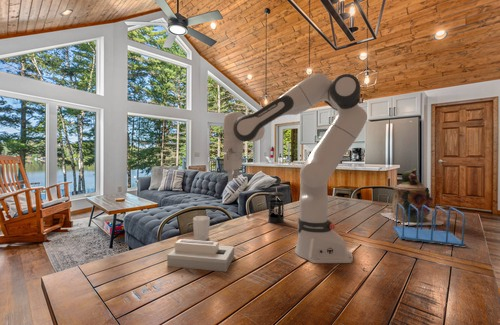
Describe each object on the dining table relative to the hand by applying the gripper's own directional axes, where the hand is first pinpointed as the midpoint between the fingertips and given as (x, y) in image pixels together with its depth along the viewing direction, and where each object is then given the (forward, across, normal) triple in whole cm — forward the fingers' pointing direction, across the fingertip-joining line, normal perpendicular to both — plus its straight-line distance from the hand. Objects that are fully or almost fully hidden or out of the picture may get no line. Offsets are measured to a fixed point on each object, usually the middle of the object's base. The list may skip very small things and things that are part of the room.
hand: (233, 179), depth 110 cm
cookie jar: (+29, +56, -98) cm, 117 cm away
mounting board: (+29, -20, +7) cm, 36 cm away
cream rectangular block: (+28, -20, +9) cm, 36 cm away
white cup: (+29, +2, +16) cm, 33 cm away
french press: (+29, +38, -17) cm, 51 cm away
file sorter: (+30, +24, -92) cm, 99 cm away
